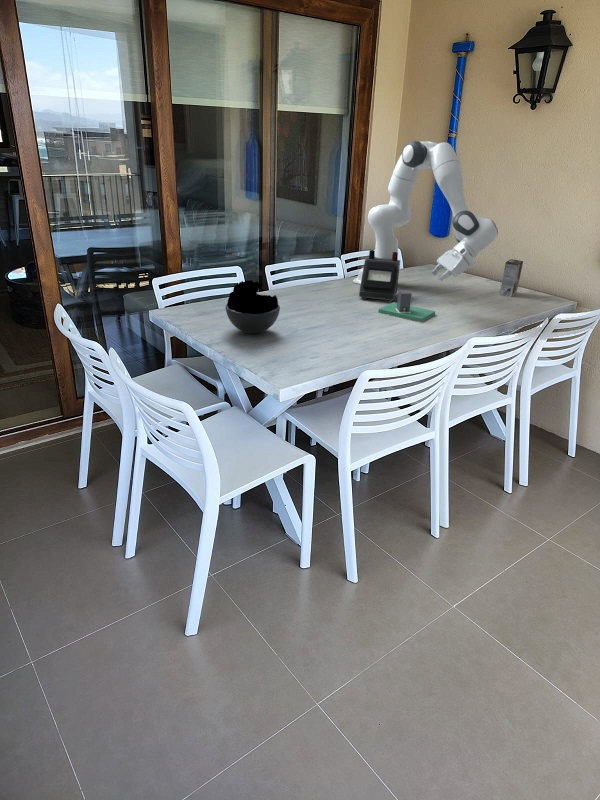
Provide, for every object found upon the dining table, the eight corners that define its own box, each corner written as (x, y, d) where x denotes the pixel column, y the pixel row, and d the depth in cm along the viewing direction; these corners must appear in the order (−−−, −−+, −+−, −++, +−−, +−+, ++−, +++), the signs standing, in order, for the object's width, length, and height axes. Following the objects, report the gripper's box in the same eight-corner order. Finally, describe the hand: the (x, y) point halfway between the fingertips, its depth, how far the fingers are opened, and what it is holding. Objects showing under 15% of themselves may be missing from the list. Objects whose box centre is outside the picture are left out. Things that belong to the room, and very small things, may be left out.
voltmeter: (358, 299, 249) (362, 255, 241) (363, 291, 264) (366, 249, 255) (393, 303, 246) (398, 259, 237) (396, 294, 261) (401, 252, 252)
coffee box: (503, 291, 273) (510, 258, 266) (516, 293, 270) (523, 260, 263) (498, 294, 267) (505, 261, 259) (511, 297, 263) (519, 263, 256)
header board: (378, 312, 233) (378, 308, 232) (393, 305, 243) (393, 301, 242) (421, 322, 222) (421, 318, 222) (434, 314, 233) (435, 310, 232)
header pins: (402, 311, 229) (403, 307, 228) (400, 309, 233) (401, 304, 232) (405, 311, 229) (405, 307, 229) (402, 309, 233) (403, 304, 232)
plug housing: (396, 308, 233) (398, 290, 230) (406, 308, 233) (408, 290, 230) (399, 312, 229) (401, 293, 225) (409, 312, 229) (412, 293, 225)
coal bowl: (257, 320, 217) (257, 273, 209) (290, 334, 204) (291, 284, 195) (215, 329, 205) (214, 280, 196) (247, 345, 192) (246, 292, 183)
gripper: (450, 242, 230) (424, 265, 234) (467, 252, 212) (439, 277, 215) (458, 253, 233) (433, 276, 236) (476, 264, 214) (448, 288, 218)
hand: (436, 276), depth 226 cm, fingers open, 8 cm apart
